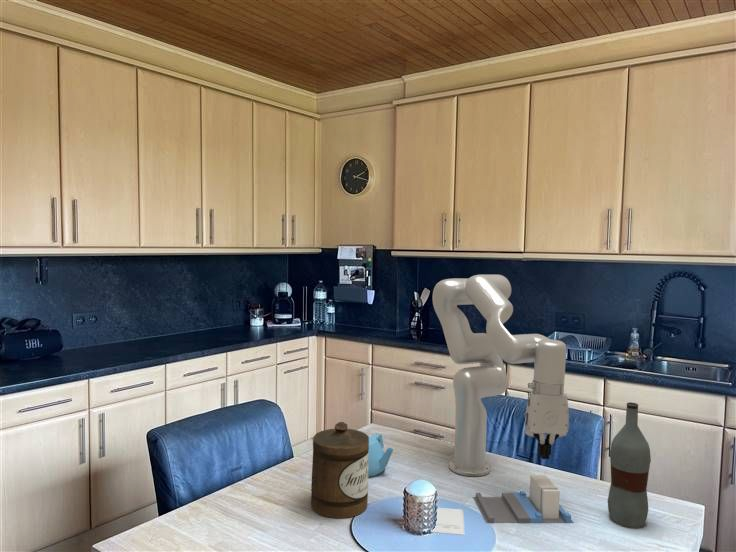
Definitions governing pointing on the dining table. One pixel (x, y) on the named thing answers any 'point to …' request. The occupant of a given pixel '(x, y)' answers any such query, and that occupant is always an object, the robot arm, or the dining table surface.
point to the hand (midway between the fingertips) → (544, 457)
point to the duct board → (514, 509)
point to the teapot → (377, 455)
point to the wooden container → (340, 472)
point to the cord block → (544, 496)
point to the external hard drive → (449, 521)
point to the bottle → (629, 473)
